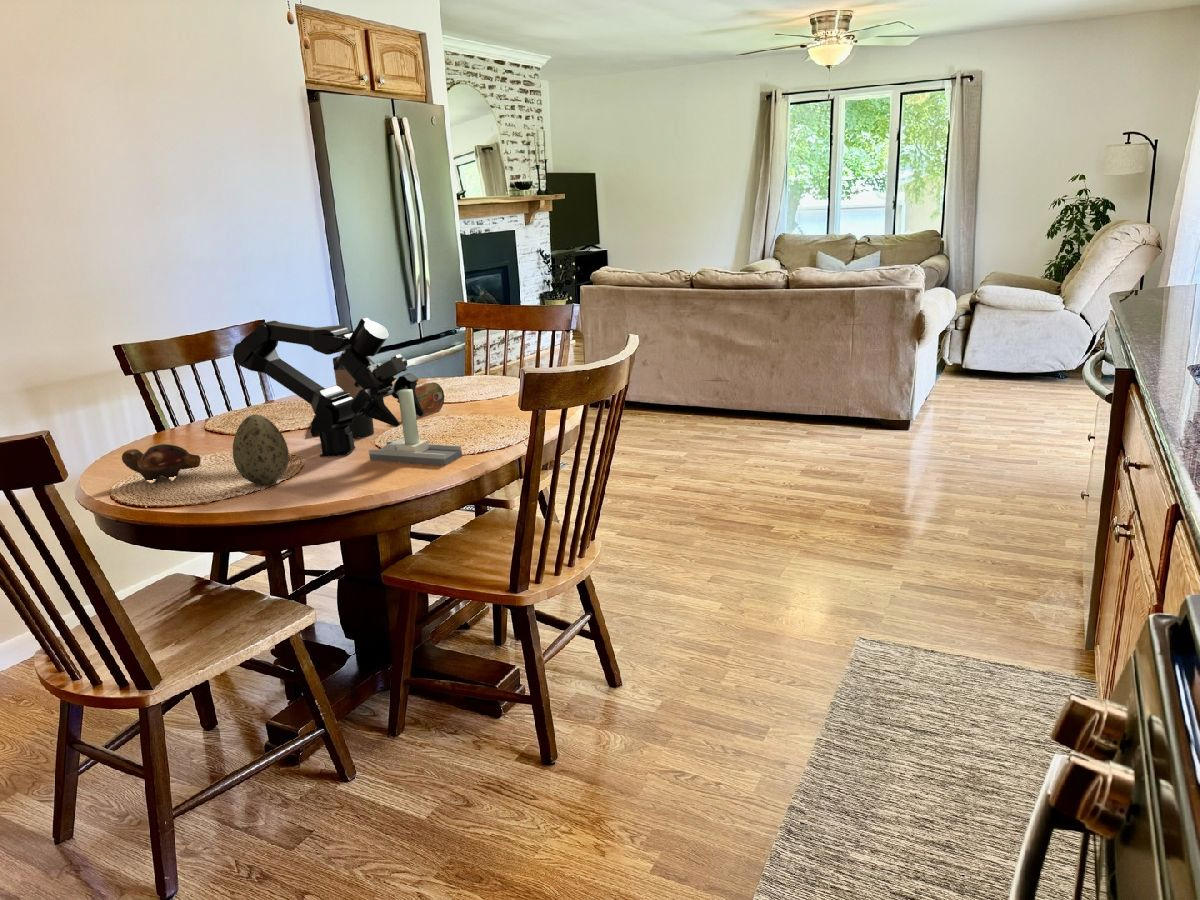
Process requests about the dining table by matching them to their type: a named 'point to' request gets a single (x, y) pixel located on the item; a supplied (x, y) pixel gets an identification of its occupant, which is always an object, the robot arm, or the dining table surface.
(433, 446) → the track
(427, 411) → the mottled brown rounded slab
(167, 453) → the decorative turtle
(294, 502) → the dining table surface
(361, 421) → the travel mug
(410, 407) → the slider with handle
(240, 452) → the decorative egg
